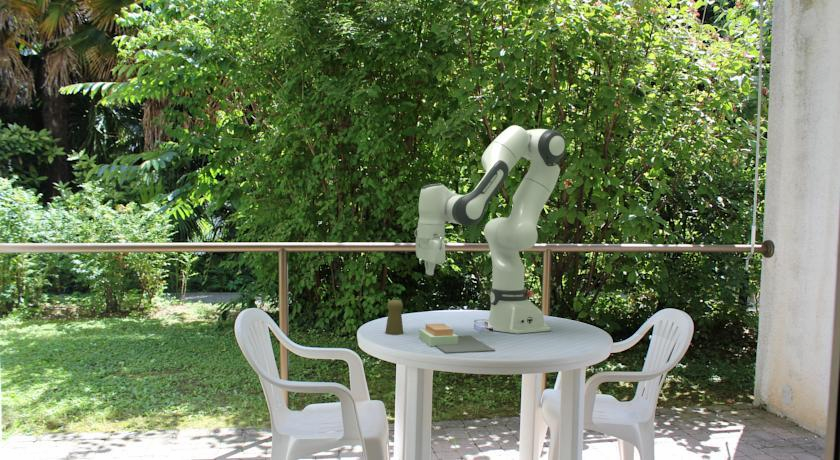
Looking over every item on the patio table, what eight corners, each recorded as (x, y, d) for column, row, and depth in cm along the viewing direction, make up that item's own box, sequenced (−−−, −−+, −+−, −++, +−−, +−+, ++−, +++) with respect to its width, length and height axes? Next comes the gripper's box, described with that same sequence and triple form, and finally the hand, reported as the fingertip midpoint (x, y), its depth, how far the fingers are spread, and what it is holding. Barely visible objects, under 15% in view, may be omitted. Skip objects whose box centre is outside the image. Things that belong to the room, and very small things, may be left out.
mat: (469, 336, 237) (469, 335, 237) (495, 351, 217) (495, 349, 217) (423, 338, 232) (423, 337, 232) (445, 353, 212) (445, 352, 212)
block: (443, 329, 232) (443, 323, 232) (452, 335, 224) (452, 329, 224) (425, 330, 231) (425, 324, 230) (434, 336, 222) (434, 329, 222)
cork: (399, 335, 236) (400, 302, 236) (382, 333, 238) (383, 300, 238) (405, 332, 242) (406, 299, 241) (389, 330, 244) (390, 298, 243)
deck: (445, 337, 235) (445, 328, 235) (457, 345, 224) (458, 335, 223) (418, 338, 232) (419, 329, 232) (430, 346, 221) (430, 337, 221)
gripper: (451, 235, 226) (449, 278, 227) (430, 231, 246) (429, 271, 247) (432, 235, 224) (430, 279, 225) (412, 230, 244) (411, 271, 245)
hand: (429, 274), depth 236 cm, fingers closed
